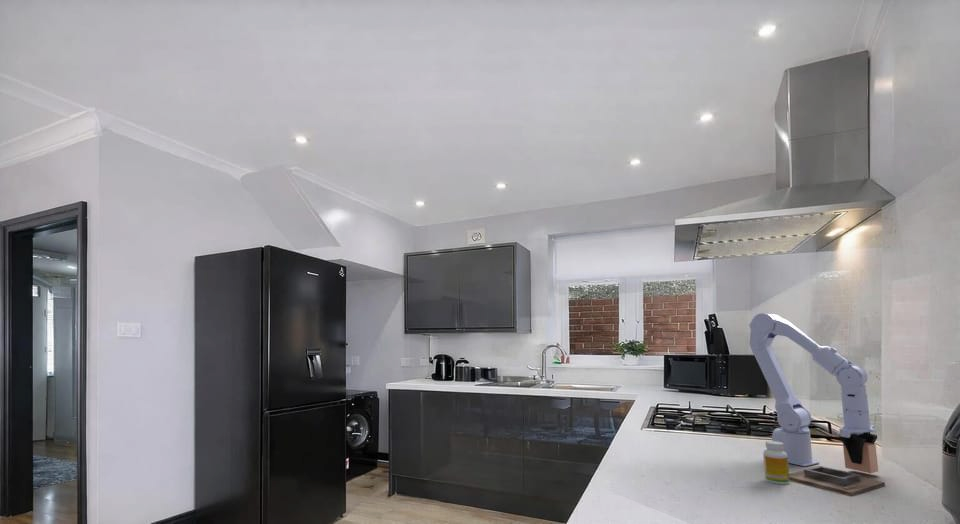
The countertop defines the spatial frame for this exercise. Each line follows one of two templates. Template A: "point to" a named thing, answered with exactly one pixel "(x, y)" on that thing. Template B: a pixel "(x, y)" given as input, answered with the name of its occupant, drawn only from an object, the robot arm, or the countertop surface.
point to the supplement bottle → (776, 463)
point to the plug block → (863, 459)
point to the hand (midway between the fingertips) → (860, 462)
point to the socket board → (835, 480)
